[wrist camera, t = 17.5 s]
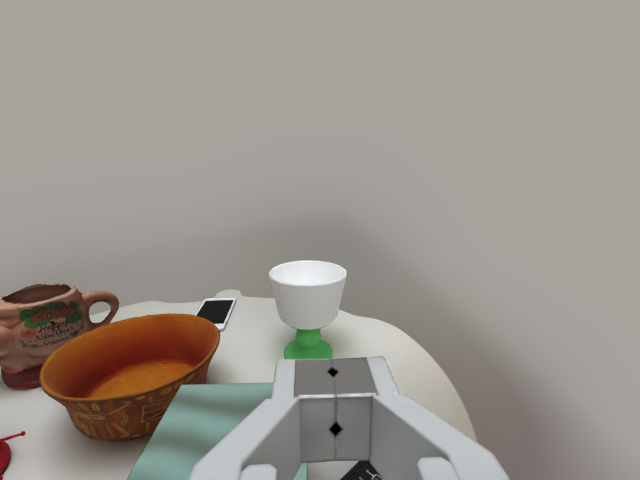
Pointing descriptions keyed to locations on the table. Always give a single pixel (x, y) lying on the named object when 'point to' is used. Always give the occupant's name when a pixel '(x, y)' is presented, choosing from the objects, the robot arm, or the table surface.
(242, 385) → the green flat panel
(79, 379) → the bowl
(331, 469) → the table surface
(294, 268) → the cup
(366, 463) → the multiport hub
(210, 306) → the cell phone
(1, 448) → the alarm clock
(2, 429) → the table surface
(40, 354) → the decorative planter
